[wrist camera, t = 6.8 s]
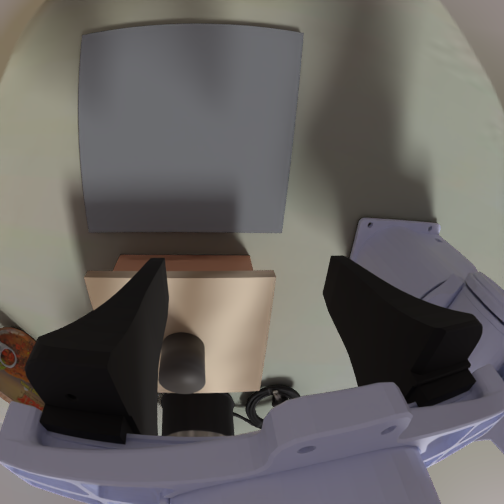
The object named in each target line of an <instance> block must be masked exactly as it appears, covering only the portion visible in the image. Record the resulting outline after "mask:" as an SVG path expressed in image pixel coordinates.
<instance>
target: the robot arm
mask: <svg viewBox="0 0 504 504" xmlns="http://www.w3.org/2000/svg"><path fill="white" fill-rule="evenodd" d="M370 222H371V224H370V225H369V226H368V223H370ZM429 227H430V228H429ZM428 228H429V229H428ZM440 228H441V226H440V225H439V224H438V223H431V222H420V221H407V220H393V219H379V218H362V219H360V221H359V223H358V227H357V231H356V235H355V239H354V243H353V247H352V251H351V255H350V259H349V258H347V257H345V256H331V258H330V263H329V268H328V272H327V277H326V281H325V285H324V290H323V296H324V299H325V302H326V306H327V309H328V311H329V314H330V316H331V318H332V320H333V322H334V324H335V326H336V328H337V330H338V333H339V335H340V337H341V339H342V341H343V343H344V345H345V347H346V350H347V352H348V354H349V357H350V360H351V364H352V367H353V370H354V373H355V377H356V381H357V384H358V387H355V388H349V389H344V390H338V391H332V392H326V393H320V394H313V395H306V396H301V397H298V398H294V399H290V400H286V401H285V402H283V403H281V404H279V405H277V406H275V407H274V408H272V409H271V410H270V412H269V413H268V414H267V416H266V417H265V418H264V420H263V425H262V429H261V430H258V431H254V432H249V433H245V434H240V435H235V436H215V437H175V436H158V429H157V391H158V369H159V360H160V354H161V348H162V343H163V338H164V333H165V328H166V323H167V318H168V306H169V292H168V283H167V274H166V264H165V258H150V259H149V260H148V261H147V262H146V263H145V264H144V265H143V267H142V268H141V269H140V270H139V271H138V272H137V273H136V274H135V275H134V276H133V277H132V278H131V279H130V280H129V281H128V282H127V283H126V284H125V285H124V286H123V287H122V288H121V289H120V290H119V291H118V292H117V293H116V294H115V295H113V296H112V297H111V298H110V299H108V300H107V301H106V302H105V303H103V304H102V305H101V306H99V307H98V308H96V309H95V310H93V311H91V312H90V313H88V314H87V315H85V316H84V317H82V318H80V319H78V320H77V321H75V322H73V323H71V324H69V325H67V326H65V327H63V328H60V329H58V330H55V331H53V332H50V333H48V334H45V335H43V336H40V337H38V339H37V341H36V343H35V345H34V347H33V349H32V351H31V353H30V356H29V358H28V360H27V362H26V365H25V373H26V376H27V378H28V380H29V382H30V384H31V385H32V387H33V388H34V389H35V391H36V392H37V394H38V395H39V396H40V398H41V399H42V401H43V402H44V403H45V405H44V408H43V412H42V411H41V410H39V409H38V408H36V407H33V406H30V405H26V404H22V403H18V402H14V401H11V402H10V405H9V407H8V410H7V413H6V416H5V419H4V422H3V425H2V428H1V431H0V464H1V465H3V466H4V467H6V468H7V469H8V470H9V471H11V472H12V473H14V474H15V475H16V476H18V477H19V478H21V479H22V480H24V481H25V482H27V483H28V484H30V485H32V486H34V487H37V488H40V489H43V490H46V491H49V492H52V493H55V494H58V495H61V496H64V497H67V498H71V499H74V500H77V501H81V502H84V503H88V504H441V502H440V500H439V498H438V495H437V492H436V490H435V488H434V485H433V483H432V480H431V478H430V476H429V473H428V471H427V469H426V468H428V467H430V466H432V465H434V464H436V463H437V462H439V461H441V460H443V459H444V458H446V457H448V456H450V455H451V454H453V453H455V452H456V451H458V450H460V449H462V448H463V447H465V446H467V445H468V444H470V443H471V442H474V441H482V440H491V441H492V442H493V443H494V444H495V445H496V446H497V447H498V448H499V450H501V452H502V453H503V454H504V290H503V289H502V288H501V287H500V286H498V285H497V284H496V283H495V282H494V281H492V280H491V279H490V278H489V277H487V276H486V275H485V274H483V273H481V272H478V271H477V269H476V267H475V266H474V265H473V264H472V263H471V262H470V261H469V260H468V259H467V258H466V257H464V256H463V255H462V254H461V253H460V252H459V251H457V250H456V249H455V248H454V247H453V246H452V245H450V244H449V243H448V242H447V241H446V240H444V239H443V238H442V237H441V236H439V232H440Z"/></svg>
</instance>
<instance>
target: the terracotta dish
mask: <svg viewBox="0 0 504 504" xmlns="http://www.w3.org/2000/svg"><path fill="white" fill-rule="evenodd" d="M150 258H165V264H166V271H253V268H252V264H251V259H250V255H120V256H119V258H118V260H117V263H116V265H115V267H114V269H113V271H139V270H140V269H141V268H142V267H143V265H144V264H145V263H146V262H147V261H148V260H149V259H150Z"/></svg>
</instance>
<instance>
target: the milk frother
mask: <svg viewBox="0 0 504 504" xmlns="http://www.w3.org/2000/svg"><path fill="white" fill-rule="evenodd" d="M270 395H273V398H272V406H273V407H275V406H277V405H279V404H281V403H283V402H285V401H286V400H288V398H289V399H294V398H298V397H300V395H299V394H298V392H297V391H295V390H294V389H292V388H290V387H287V386H280V385H276V386H268V387H265V388H262V389H260V391H256V392H254V393H253V394H252V395H251V396H250V397H249V399H248V401H247V404H246V414H247V416H248V418H249V419H250V420H249V419H247V418H244V417H243V416H241V415H239V414H237V413H234V412H233V408H234V401H233V399H232V397H231V396H230V395H229V394H227V393H191V394H178V393H165V394H164V395H163V397H162V399H161V406H162V408H163V414H162V436H175V437H215V436H234V425H233V416H236V417H238V418H241V419H243V420H244V421H246V422H248V423H249V424H251V425H253V426H255V427H257V428H260V429H262V425H263V420H264V419H262V418H260V417H259V416H258V415H257V414H256V411H255V407H256V405H257V403H258V402H259V401H260V400H261V399H263V398H265V397H267V396H270Z"/></svg>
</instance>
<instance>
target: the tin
mask: <svg viewBox="0 0 504 504" xmlns="http://www.w3.org/2000/svg"><path fill="white" fill-rule="evenodd" d="M35 343H36V341H35V340H34V339H33V338H31V337H30V336H29V335H28V334H26V333H25V332H23V331H21V330H19V329H16V328H12V327H3V328H0V397H1V398H2V399H4V400H5V401H7V402H8V403H9V404H10V402H11V401H14V402H18V403H22V404H26V405H30V406H33V407H36V408H38V409H39V410H41V411H42V412H43V408H44V405H45V403H44V402H43V401H42V399H41V398H40V396H39V395H38V394H37V392H36V391H35V389H34V388H33V387H32V385H31V384H30V382H29V380H28V378H27V376H26V373H25V365H26V362H27V360H28V358H29V356H30V353H31V351H32V349H33V347H34V345H35Z"/></svg>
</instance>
